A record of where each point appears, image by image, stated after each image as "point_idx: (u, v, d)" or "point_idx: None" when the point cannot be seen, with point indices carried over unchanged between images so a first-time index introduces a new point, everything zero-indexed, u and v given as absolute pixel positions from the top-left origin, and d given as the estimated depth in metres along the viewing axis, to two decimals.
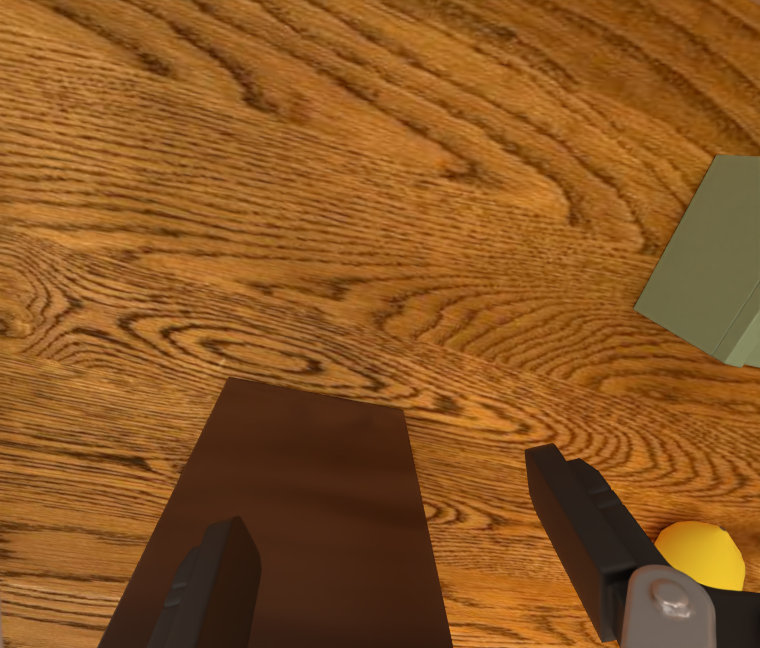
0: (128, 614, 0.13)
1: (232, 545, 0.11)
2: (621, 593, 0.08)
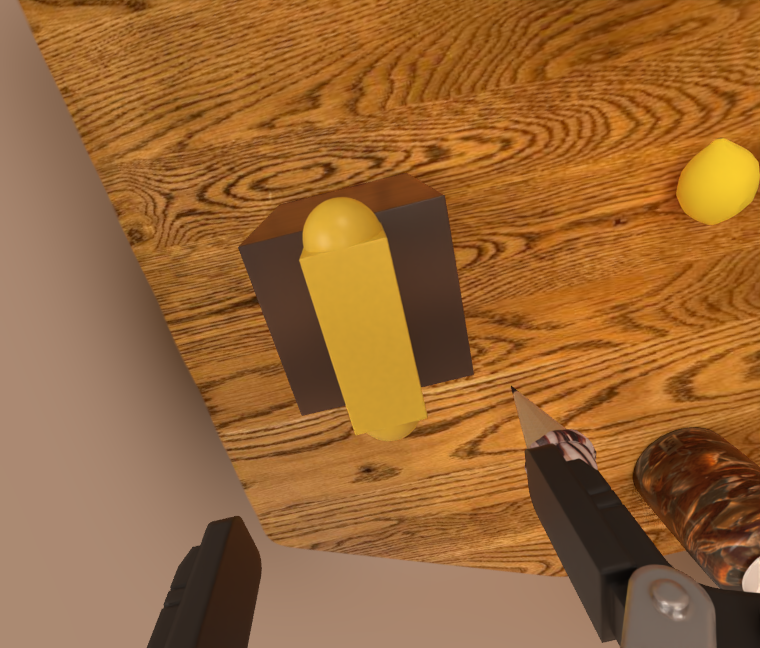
0: (250, 239, 0.23)
1: (232, 545, 0.11)
2: (621, 593, 0.08)
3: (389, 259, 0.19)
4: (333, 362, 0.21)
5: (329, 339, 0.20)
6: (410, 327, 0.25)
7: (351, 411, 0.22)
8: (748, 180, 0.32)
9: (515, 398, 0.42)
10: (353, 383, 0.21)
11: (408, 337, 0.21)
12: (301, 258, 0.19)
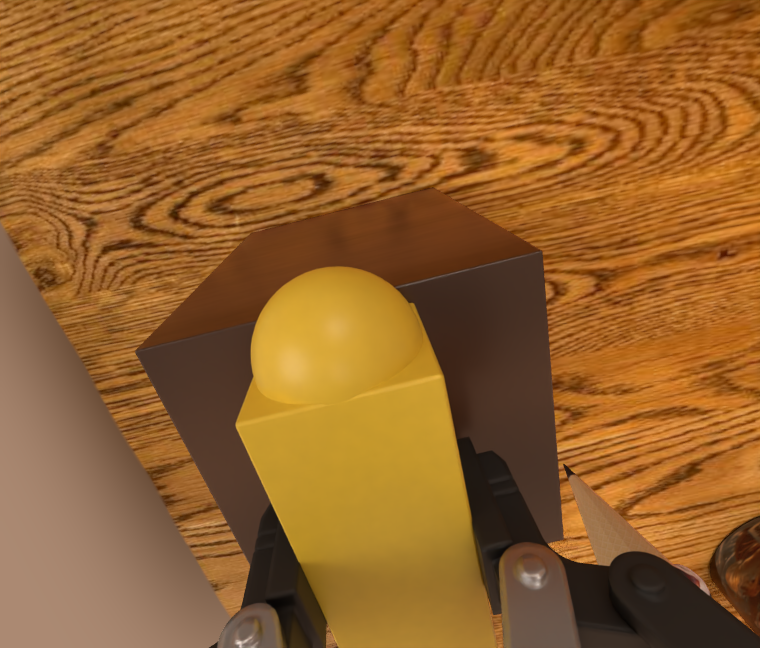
0: (166, 328, 0.12)
1: None
2: None
3: (447, 418, 0.08)
4: (320, 602, 0.10)
5: (311, 566, 0.09)
6: None
7: None
8: None
9: (573, 486, 0.32)
10: (360, 631, 0.11)
11: (477, 556, 0.10)
12: (240, 422, 0.08)
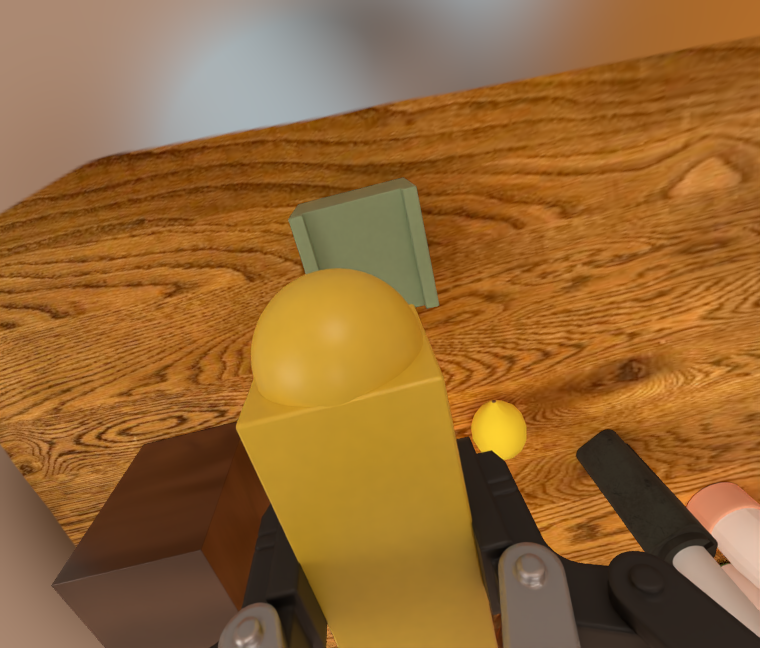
0: (66, 568, 0.31)
1: None
2: None
3: (447, 420, 0.08)
4: (320, 603, 0.10)
5: (311, 568, 0.10)
6: (196, 619, 0.32)
7: None
8: (510, 442, 0.40)
9: None
10: (360, 633, 0.11)
11: (477, 557, 0.10)
12: (240, 424, 0.08)
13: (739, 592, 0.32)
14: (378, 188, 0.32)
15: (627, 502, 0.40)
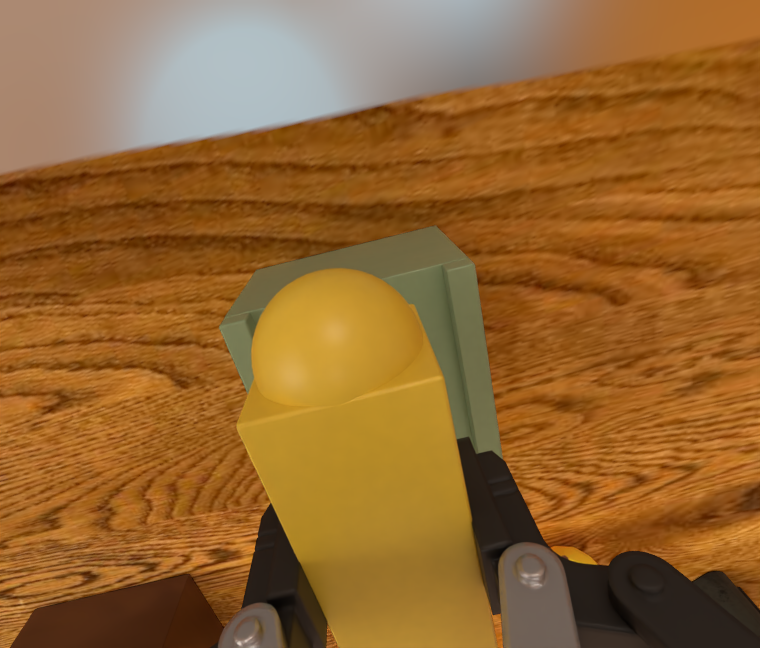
0: None
1: None
2: None
3: (447, 420, 0.08)
4: (320, 603, 0.10)
5: (311, 568, 0.10)
6: None
7: None
8: None
9: None
10: (361, 633, 0.11)
11: (477, 557, 0.10)
12: (241, 424, 0.08)
13: None
14: (395, 252, 0.18)
15: None
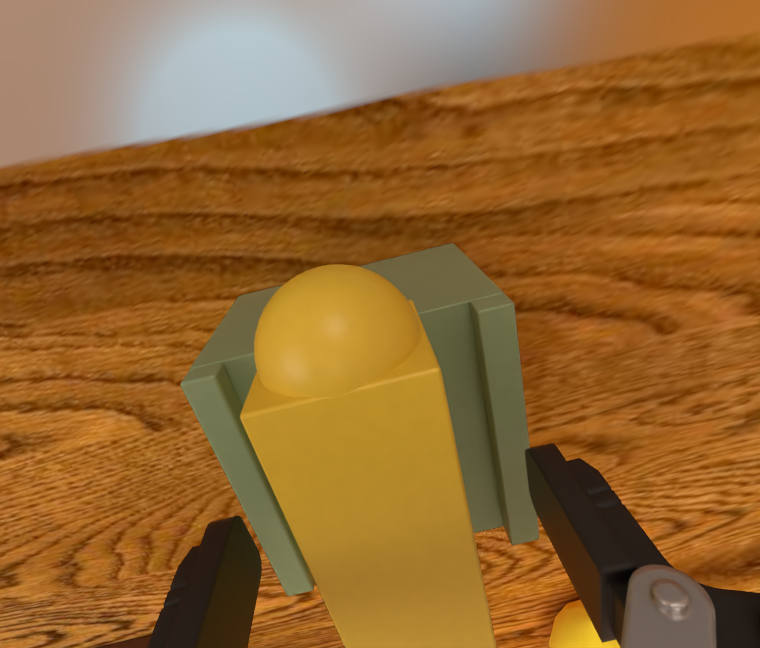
0: None
1: (232, 545, 0.11)
2: (621, 593, 0.08)
3: (444, 411, 0.08)
4: (321, 591, 0.10)
5: (313, 555, 0.10)
6: None
7: None
8: None
9: None
10: (360, 620, 0.11)
11: (474, 545, 0.10)
12: (244, 414, 0.08)
13: None
14: (406, 279, 0.14)
15: None
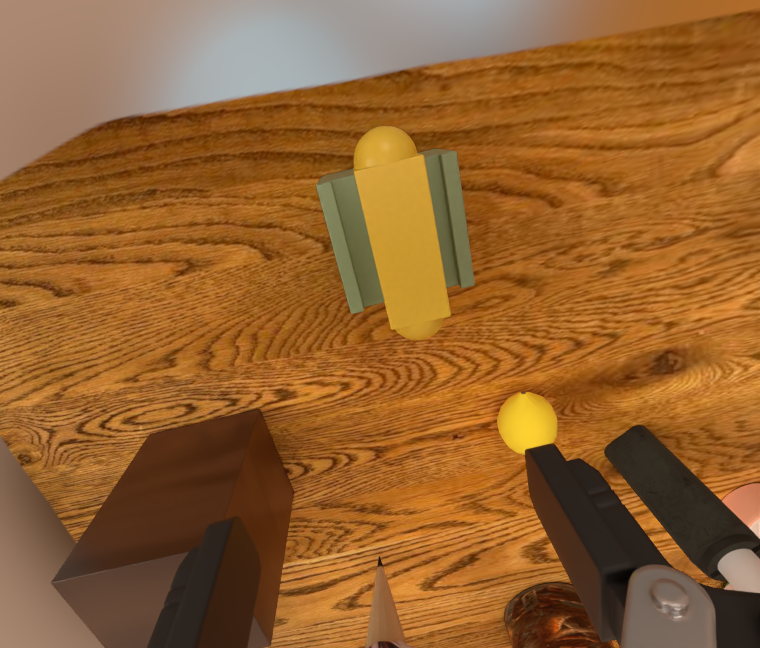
0: (67, 564, 0.28)
1: (232, 545, 0.11)
2: (621, 593, 0.08)
3: (425, 173, 0.24)
4: (376, 263, 0.26)
5: (374, 242, 0.25)
6: None
7: (388, 307, 0.27)
8: (541, 436, 0.38)
9: (376, 575, 0.48)
10: (391, 282, 0.26)
11: (437, 242, 0.25)
12: (355, 171, 0.23)
13: None
14: None
15: (664, 502, 0.38)
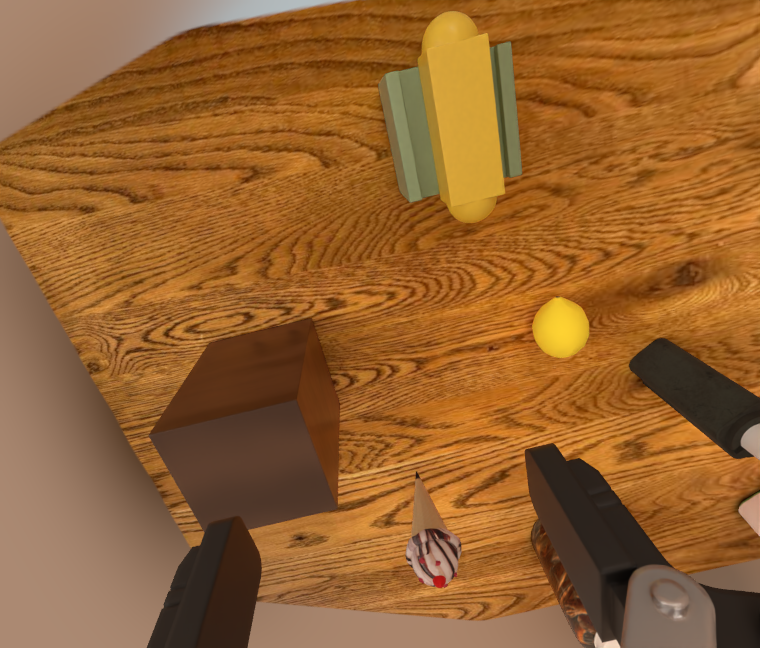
0: (160, 423, 0.31)
1: (232, 545, 0.11)
2: (621, 593, 0.08)
3: (488, 51, 0.27)
4: (441, 139, 0.29)
5: (441, 118, 0.28)
6: (283, 480, 0.33)
7: (450, 184, 0.30)
8: (575, 334, 0.41)
9: (415, 485, 0.51)
10: (454, 158, 0.29)
11: (496, 119, 0.29)
12: (427, 48, 0.27)
13: None
14: None
15: (689, 394, 0.41)
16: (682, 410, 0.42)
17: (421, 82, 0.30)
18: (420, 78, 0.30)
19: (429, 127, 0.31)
